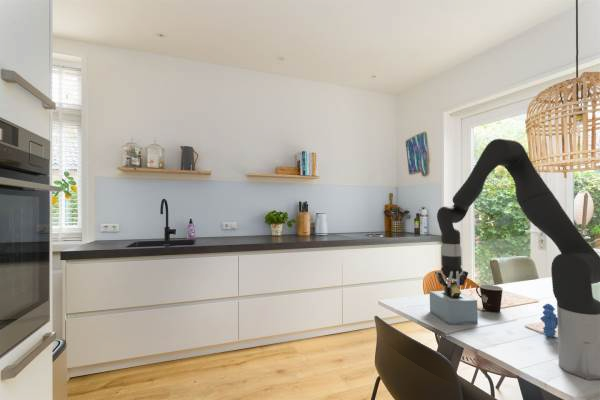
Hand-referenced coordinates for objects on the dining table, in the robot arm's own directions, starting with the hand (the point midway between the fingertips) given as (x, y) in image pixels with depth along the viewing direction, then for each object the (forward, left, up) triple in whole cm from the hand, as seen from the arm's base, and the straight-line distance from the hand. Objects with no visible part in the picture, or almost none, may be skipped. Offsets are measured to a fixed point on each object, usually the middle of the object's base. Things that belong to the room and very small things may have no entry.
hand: (452, 295), depth 123 cm
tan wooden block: (-2, 0, 0) cm, 2 cm away
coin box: (0, 0, -9) cm, 9 cm away
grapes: (-22, -23, -9) cm, 33 cm away
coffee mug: (+7, -22, -9) cm, 25 cm away
